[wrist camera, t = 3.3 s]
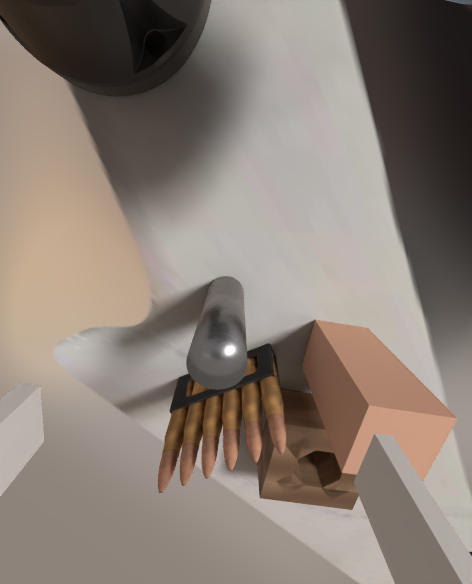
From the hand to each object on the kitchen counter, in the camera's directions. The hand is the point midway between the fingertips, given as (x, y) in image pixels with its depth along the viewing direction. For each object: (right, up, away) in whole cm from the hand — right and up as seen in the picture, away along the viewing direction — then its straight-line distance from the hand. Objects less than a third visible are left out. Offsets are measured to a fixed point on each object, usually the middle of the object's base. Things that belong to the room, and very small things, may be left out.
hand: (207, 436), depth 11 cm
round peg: (0, +6, +16) cm, 17 cm away
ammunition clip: (0, -2, +19) cm, 19 cm away
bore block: (+9, -10, +21) cm, 25 cm away
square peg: (+11, 0, +18) cm, 21 cm away
